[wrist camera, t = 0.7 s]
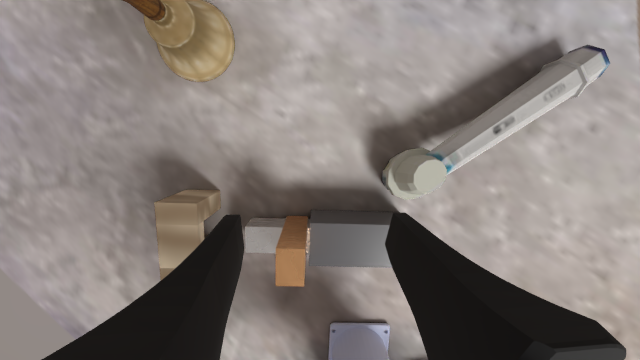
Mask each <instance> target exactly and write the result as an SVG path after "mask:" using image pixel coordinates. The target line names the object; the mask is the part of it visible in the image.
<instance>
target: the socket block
mask: <svg viewBox="0 0 640 360" xmlns="http://www.w3.org/2000/svg"><path fill="white" fill-rule="evenodd" d="M154 204H155V216H156V229H157V241H158V253H159V265H160V278H161V280H162V279H164V278H165V277H166V276H167V275H168V274H169V273H171V272H172V271H173V270H174V269H175V268H176V267H177V266H178V265H179V264H180V263H181V262H182V261H183V260H185V259H186V258H187V257H188V256H189V255H190V254H191V253H192V252H193V251H194V250H195V249H196V248H197V247H198V246H199V244H200V243H201V242H202V241H203V240H204V220H206V219H207V218H208V217H210V216H211V215H212V214H214V213H215V212H216V211H218V210H219V209H220V208H221V200H220V190H184V191H182V192H179V193H177V194H174V195H172V196H169V197H167V198H164V199H162V200H159V201H157V202H154Z"/></svg>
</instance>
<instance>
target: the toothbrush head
mask: <svg viewBox="0 0 640 360" xmlns="http://www.w3.org/2000/svg"><path fill="white" fill-rule="evenodd" d="M609 64H610V62H609V59H608V57H607V54H606V52H605V50H604V49H601V48H597V47H594V46H590V45H585V46H583V47H580V48H577V49H575V50H572V51H570V52H569V53H567V54H566V55H564V56H563V57H561V58H560V59H558V60H557V61H554V62H551V63H548V64H545V65H544V66H543V67H542V69H541V71H540V73H538V74H537V75H536V76H534V77H533V78H531V79H530V80H529V81H527V82H526V83H524V84H523V85H522V86H520V87H519V88H517V89H516V90H515V91H513V92H512V93H511V94H509V95H508V96H506V97H505V98H504V99H502V100H501V101H499V102H498V103H497V104H495V105H494V106H493V107H491V108H490V109H488V110H487V111H486V112H484V113H483V114H481V115H480V116H479V117H477V118H476V119H474V120H473V121H472V122H470V123H469V124H468V125H466V126H465V127H463V128H462V129H461V130H459V131H458V132H456V133H455V134H454V135H452V136H451V137H449V138H448V139H447V140H445V141H444V142H443V143H441V144H440V145H438V146H437V147H436V148H434V149H433V150H431V151H429V150H426V149H424V148H417V149H410V150H405V151H404V152H402V153H400V154H397V155H396V156H394V157H393V158H391V159H390V160H389V163H388V164H387V166H386V168H385V170H383V177H382V181H383V183H384V185H385V186H386V188H387V189H388V190H390V192H391V194H392V195H395V196H397V197H399V198H402V199H405V200H410V199H416V198H420V197H422V196H423V195H425V194H428V193H432V192H434V191H435V190H436V189H438V188H439V187H441V186H442V184H443V182H444V181H445V179H446V175H448V174H450V173H451V172H453V171H454V170H456V169H457V168H459V167H461V166H462V165H464V164H465V163H467V162H469V161H470V160H472V159H473V158H475V157H476V156H478V155H480V154H481V153H483V152H484V151H486V150H488V149H489V148H491V147H492V146H494V145H495V144H497V143H499V142H500V141H502V140H503V139H505V138H507V137H508V136H510V135H511V134H513V133H514V132H516V131H518V130H519V129H521V128H522V127H524V126H525V125H527V124H529V123H530V122H532V121H533V120H535V119H537V118H538V117H540V116H541V115H543V114H544V113H546V112H548V111H549V110H551V109H552V108H554V107H556V106H557V105H559V104H560V103H562V102H563V101H565V100H567V99H570V98H575V97H578V96H579V95H580V94H581V93H582V91H583V90H584V88H585V87H586V86H587V85H589V84H590V83H592V82H593V81H595V80H596V79H597V78H599V77H600V76H601V75H602V74H603V72H604V71H605V70H606V68H607V67H608V66H609Z"/></svg>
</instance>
